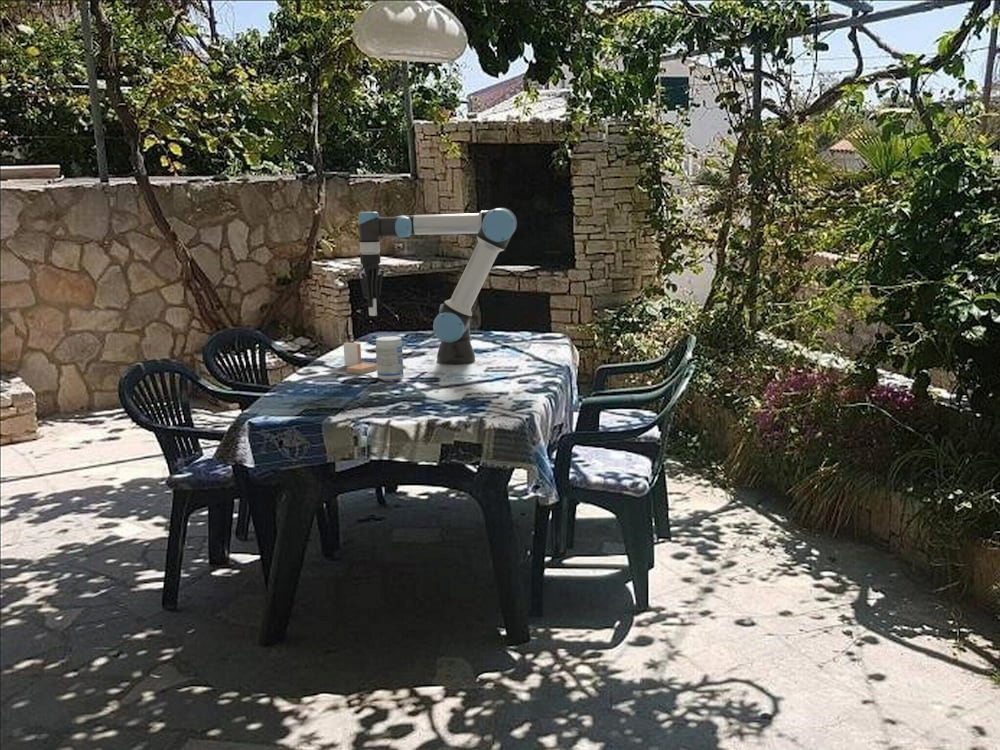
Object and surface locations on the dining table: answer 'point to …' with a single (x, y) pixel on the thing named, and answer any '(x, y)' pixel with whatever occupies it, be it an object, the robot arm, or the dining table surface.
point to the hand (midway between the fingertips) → (372, 315)
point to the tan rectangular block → (361, 368)
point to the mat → (344, 370)
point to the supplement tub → (389, 358)
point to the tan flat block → (352, 354)
